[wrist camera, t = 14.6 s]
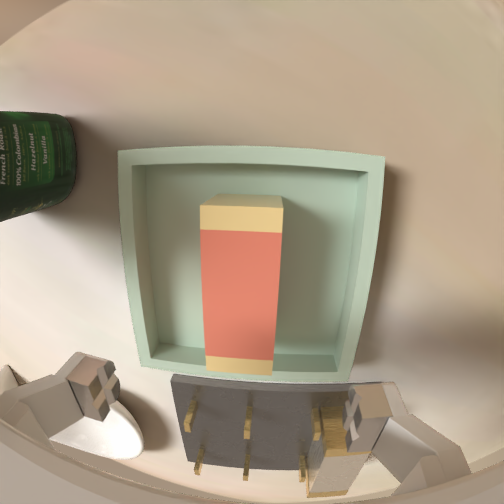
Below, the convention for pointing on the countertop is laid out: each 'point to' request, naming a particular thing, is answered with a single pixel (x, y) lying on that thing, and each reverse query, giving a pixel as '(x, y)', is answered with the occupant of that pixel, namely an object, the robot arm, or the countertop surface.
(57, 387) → the robot arm
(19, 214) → the coffee jar
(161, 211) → the tray
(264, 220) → the fuse
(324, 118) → the countertop surface
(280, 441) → the fuse holder
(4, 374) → the spoon rest
